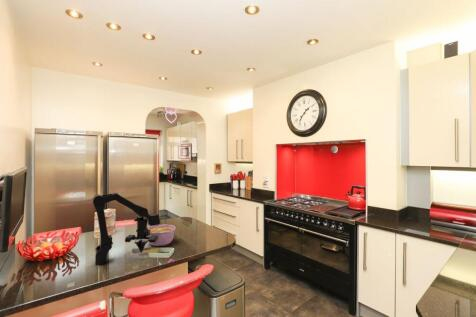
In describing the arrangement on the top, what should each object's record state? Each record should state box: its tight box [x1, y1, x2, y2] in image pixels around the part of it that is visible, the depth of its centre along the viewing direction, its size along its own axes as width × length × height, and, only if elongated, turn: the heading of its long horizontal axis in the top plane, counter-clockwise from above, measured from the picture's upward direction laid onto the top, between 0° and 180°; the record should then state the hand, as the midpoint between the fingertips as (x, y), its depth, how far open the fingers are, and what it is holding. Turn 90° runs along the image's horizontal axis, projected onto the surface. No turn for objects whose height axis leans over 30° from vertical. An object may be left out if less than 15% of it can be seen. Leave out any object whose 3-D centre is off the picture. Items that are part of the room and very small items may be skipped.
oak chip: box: [142, 247, 152, 254], centre depth 142 cm, size 4×4×3 cm
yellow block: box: [149, 247, 159, 253], centre depth 142 cm, size 4×4×3 cm
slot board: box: [124, 247, 149, 259], centre depth 142 cm, size 11×14×2 cm
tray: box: [148, 247, 175, 259], centre depth 142 cm, size 9×13×3 cm
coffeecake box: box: [93, 208, 117, 240], centre depth 179 cm, size 15×7×20 cm, turn 171°
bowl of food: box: [147, 223, 176, 247], centre depth 161 cm, size 20×20×12 cm
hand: (141, 252), depth 143 cm, fingers closed
